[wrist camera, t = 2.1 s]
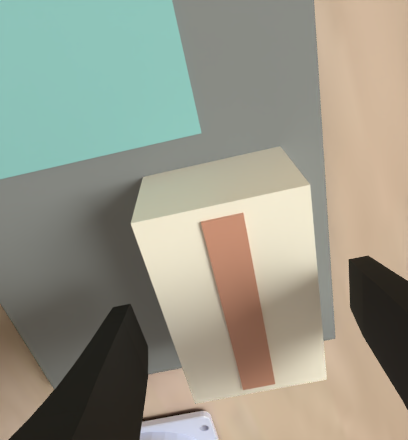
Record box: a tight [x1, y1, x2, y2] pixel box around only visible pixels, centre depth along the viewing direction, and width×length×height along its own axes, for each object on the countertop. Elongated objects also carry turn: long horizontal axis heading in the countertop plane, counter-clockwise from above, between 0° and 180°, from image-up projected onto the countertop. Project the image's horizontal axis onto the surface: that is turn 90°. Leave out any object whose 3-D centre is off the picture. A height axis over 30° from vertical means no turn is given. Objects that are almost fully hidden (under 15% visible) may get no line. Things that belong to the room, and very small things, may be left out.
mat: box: [0, 0, 335, 390], centre depth 14 cm, size 20×14×1 cm
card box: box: [131, 146, 327, 404], centre depth 13 cm, size 8×5×4 cm, turn 12°
